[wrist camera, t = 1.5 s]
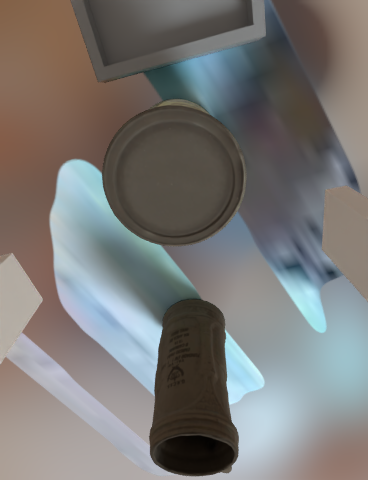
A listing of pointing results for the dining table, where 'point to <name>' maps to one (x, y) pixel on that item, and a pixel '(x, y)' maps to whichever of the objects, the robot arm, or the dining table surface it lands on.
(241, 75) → the dining table surface
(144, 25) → the holder tray
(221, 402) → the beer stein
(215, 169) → the coffee can
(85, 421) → the dining table surface
